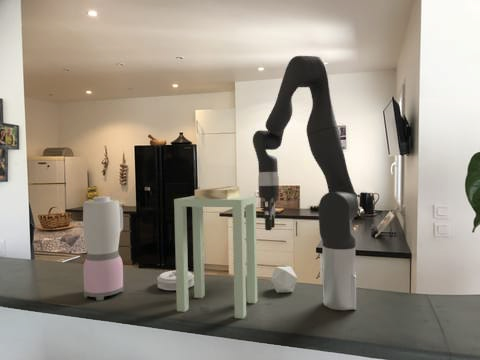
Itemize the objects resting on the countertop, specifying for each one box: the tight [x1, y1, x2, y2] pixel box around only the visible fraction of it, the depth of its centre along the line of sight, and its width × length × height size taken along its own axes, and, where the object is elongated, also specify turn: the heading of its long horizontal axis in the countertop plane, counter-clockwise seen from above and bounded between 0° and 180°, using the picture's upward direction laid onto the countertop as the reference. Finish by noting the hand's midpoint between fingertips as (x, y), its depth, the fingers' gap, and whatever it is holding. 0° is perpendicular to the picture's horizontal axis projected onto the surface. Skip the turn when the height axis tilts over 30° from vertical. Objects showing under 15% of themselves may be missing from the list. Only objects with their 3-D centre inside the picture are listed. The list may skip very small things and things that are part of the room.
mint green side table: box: [173, 195, 258, 319], centre depth 108 cm, size 20×14×32 cm
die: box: [270, 266, 298, 294], centre depth 120 cm, size 8×9×10 cm
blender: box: [82, 196, 124, 301], centre depth 122 cm, size 16×12×32 cm
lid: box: [156, 270, 194, 291], centre depth 127 cm, size 13×13×5 cm
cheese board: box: [194, 185, 240, 199], centre depth 113 cm, size 10×20×2 cm, turn 162°
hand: (270, 228), depth 135 cm, fingers open, 8 cm apart
